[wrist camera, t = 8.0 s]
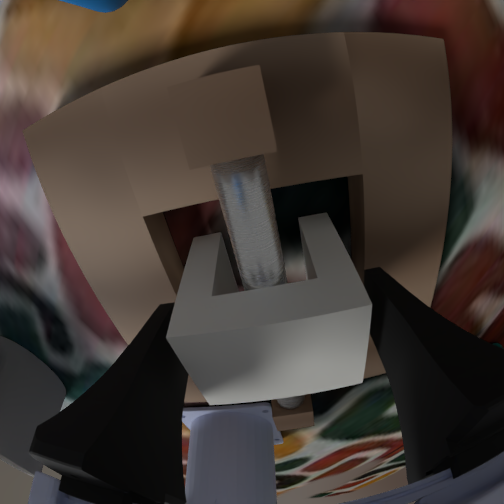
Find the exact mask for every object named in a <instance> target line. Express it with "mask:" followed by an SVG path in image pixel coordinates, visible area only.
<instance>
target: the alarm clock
mask: <svg viewBox="0 0 504 504" xmlns="http://www.w3.org/2000/svg"><path fill="white" fill-rule="evenodd" d="M60 1H64V2H67V3H71V4H74V5H78V6H81V7H85V8H88V9H91V10H94V11H98V12H105V13H106V12H111V11H115V10H117V9H119V8H120V7H122V6H123V5H124V4H125V3H126V2H127V1H128V0H60Z"/></svg>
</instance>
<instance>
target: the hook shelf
mask: <svg viewBox="0 0 504 504" xmlns="http://www.w3.org/2000/svg"><path fill="white" fill-rule="evenodd" d="M23 134H24V137H25V140H26V144H27V147H28V150H29V153H30V156H31V159H32V161H33V164H34V167H35V170H36V172H37V175H38V178H39V180H40V183H41V185H42V188H43V190H44V193H45V195H46V198H47V200H48V203H49V205H50V207H51V209H52V212H53V214H54V216H55V218H56V221H57V223H58V225H59V227H60V229H61V231H62V233H63V235H64V237H65V239H66V242H67V244H68V246H69V247H70V249H71V251H72V253H73V255H74V257H75V259H76V261H77V263H78V265H79V267H80V268H81V270H82V272H83V274H84V276H85V277H86V279H87V281H88V283H89V284H90V286H91V288H92V290H93V291H94V293H95V295H96V296H97V298H98V300H99V301H100V303H101V304H102V306H103V308H104V309H105V311H106V312H107V314H108V316H109V317H110V319H111V320H112V322H113V323H114V325H115V326H116V328H117V329H118V331H119V332H120V334H121V335H122V337H123V338H124V340H125V341H126V343H127V344H128V345H129V344H130V343H131V342H132V340H133V339H134V338H135V336H136V335H137V334H138V332H139V331H140V330H141V328H142V327H143V326H144V324H145V323H146V322H147V320H148V319H149V318H150V316H151V315H152V314H153V312H154V311H155V310H156V309H157V307H158V306H159V305H160V304H165V303H173V302H174V303H175V301H176V297H177V293H178V290H179V286H180V282H181V279H182V275H183V272H184V267H183V265H182V262H181V260H180V257H179V255H178V252H177V249H176V247H175V244H174V242H173V239H172V236H171V234H170V231H169V228H168V225H167V223H166V220H165V217H164V215H163V212H164V211H168V210H172V209H177V208H181V207H185V206H190V205H194V204H199V203H203V202H208V201H212V200H217V199H219V198H218V194H217V190H216V187H215V183H214V179H213V176H212V172H211V168H210V165H213V164H218V163H222V162H227V161H232V160H236V159H241V158H246V157H251V156H256V155H261V154H264V159H265V164H266V169H267V174H268V179H269V184H270V189H273V188H278V187H284V186H290V185H296V184H301V183H307V182H314V181H320V180H326V179H333V178H339V177H346V176H347V177H348V190H349V206H350V227H351V260H352V262H353V264H354V267H355V269H356V271H357V273H358V275H359V277H360V279H361V281H362V283H363V285H364V270H366V269H371V268H375V267H381V268H382V269H383V270H384V271H385V272H387V273H388V274H389V275H390V276H391V277H393V278H394V279H395V280H396V281H397V282H399V283H400V284H401V285H402V286H403V287H404V288H406V289H407V290H408V291H409V292H411V293H412V294H413V295H414V296H416V297H417V298H418V299H419V300H421V301H422V302H423V303H424V304H426V305H427V306H428V307H431V303H432V299H433V295H434V290H435V286H436V281H437V277H438V272H439V267H440V262H441V257H442V251H443V245H444V239H445V232H446V225H447V217H448V208H449V198H450V186H451V169H452V110H451V94H450V83H449V73H448V65H447V57H446V51H445V44H444V39H440V38H434V37H426V36H418V35H409V34H397V33H379V32H332V33H314V34H302V35H292V36H283V37H276V38H268V39H262V40H256V41H250V42H245V43H239V44H234V45H230V46H225V47H220V48H216V49H212V50H208V51H204V52H200V53H196V54H193V55H189V56H186V57H182V58H179V59H176V60H172V61H169V62H166V63H163V64H160V65H157V66H154V67H151V68H148V69H146V70H143V71H140V72H138V73H135V74H132V75H130V76H127V77H125V78H122V79H120V80H117V81H115V82H113V83H110V84H108V85H106V86H104V87H101V88H99V89H97V90H95V91H93V92H91V93H89V94H87V95H84V96H82V97H80V98H78V99H76V100H75V101H73V102H71V103H69V104H67V105H65V106H63V107H61V108H60V109H58V110H56V111H54V112H52V113H51V114H49V115H47V116H46V117H44V118H42V119H40V120H39V121H37V122H36V123H34V124H32V125H31V126H29V127H28V128H26V129H25V130H23ZM384 373H386V371H385V369H384V366H383V364H382V361H381V359H380V357H379V354H378V352H377V349H376V347H375V345H374V342H373V340H372V338H371V335H370V333H369V341H368V349H367V357H366V364H365V370H364V377H363V379H364V378H368V377H372V376H376V375H380V374H384ZM184 402H207V401H206V399H205V398H204V396H203V395H202V393H201V392H200V390H199V389H198V387H197V386H196V384H195V383H194V381H193V380H192V378H191V377H190V375H188V381H187V387H186V393H185V399H184ZM271 404H272V418H273V420H274V423H275V426H276V428H277V431H283V430H291V429H298V428H304V427H310V426H314V416H313V407H312V401H311V394H306V395H305V399H304V402H303V403H302V405H301V406H299V407H298V408H296V409H291V410H288V409H284V408H282V407H281V406H280V405H279V404H278V402H277V399H273V400H271Z"/></svg>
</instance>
